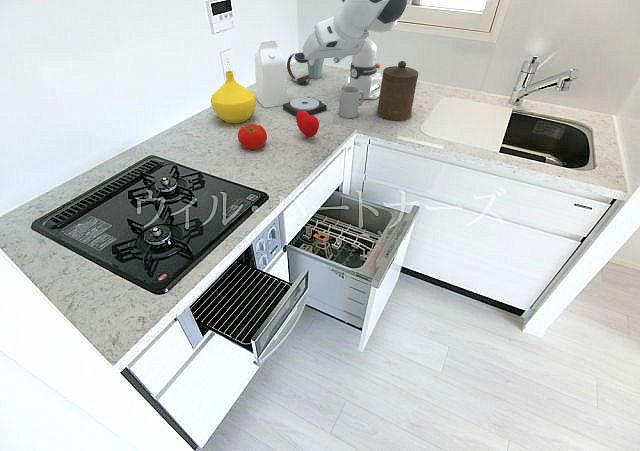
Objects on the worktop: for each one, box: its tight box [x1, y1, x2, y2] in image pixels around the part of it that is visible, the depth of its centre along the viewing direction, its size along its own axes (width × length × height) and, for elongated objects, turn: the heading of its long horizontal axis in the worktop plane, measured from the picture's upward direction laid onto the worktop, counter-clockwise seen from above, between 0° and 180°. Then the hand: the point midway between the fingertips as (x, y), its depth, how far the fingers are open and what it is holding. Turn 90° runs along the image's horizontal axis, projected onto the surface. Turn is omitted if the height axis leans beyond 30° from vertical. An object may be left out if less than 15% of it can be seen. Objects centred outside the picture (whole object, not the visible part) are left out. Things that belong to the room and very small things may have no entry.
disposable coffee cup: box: [306, 58, 325, 80], centre depth 181 cm, size 11×11×15 cm
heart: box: [295, 111, 320, 139], centre depth 130 cm, size 12×5×10 cm, turn 40°
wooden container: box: [377, 60, 419, 121], centre depth 145 cm, size 15×15×22 cm
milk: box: [254, 39, 290, 109], centre depth 151 cm, size 12×12×26 cm
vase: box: [210, 70, 257, 124], centre depth 139 cm, size 18×18×19 cm
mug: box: [338, 85, 365, 119], centre depth 148 cm, size 12×8×11 cm
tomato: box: [237, 122, 268, 150], centre depth 125 cm, size 11×11×8 cm
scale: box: [282, 96, 328, 117], centre depth 152 cm, size 15×13×3 cm
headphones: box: [286, 52, 316, 85], centre depth 173 cm, size 6×15×22 cm
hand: (323, 62), depth 108 cm, fingers open, 8 cm apart
